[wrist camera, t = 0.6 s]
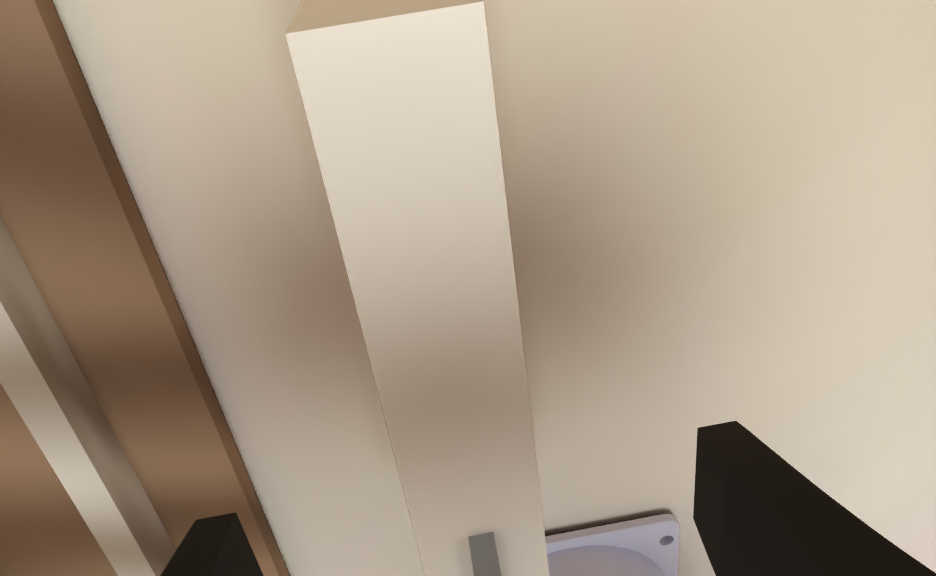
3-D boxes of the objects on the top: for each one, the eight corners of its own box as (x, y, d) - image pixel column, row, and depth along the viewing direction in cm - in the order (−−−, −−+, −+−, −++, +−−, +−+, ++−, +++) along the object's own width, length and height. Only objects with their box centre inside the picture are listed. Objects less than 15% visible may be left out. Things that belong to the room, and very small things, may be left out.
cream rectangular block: (510, 426, 23) (565, 645, 16) (419, 443, 23) (439, 670, 16) (446, -41, 16) (500, 20, 9) (313, -19, 16) (272, 57, 9)
